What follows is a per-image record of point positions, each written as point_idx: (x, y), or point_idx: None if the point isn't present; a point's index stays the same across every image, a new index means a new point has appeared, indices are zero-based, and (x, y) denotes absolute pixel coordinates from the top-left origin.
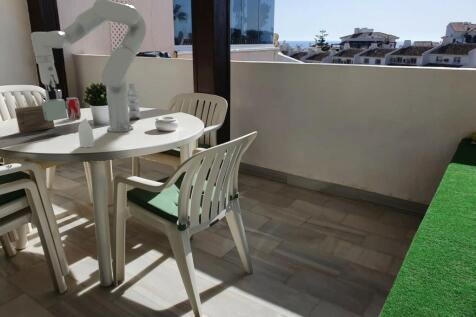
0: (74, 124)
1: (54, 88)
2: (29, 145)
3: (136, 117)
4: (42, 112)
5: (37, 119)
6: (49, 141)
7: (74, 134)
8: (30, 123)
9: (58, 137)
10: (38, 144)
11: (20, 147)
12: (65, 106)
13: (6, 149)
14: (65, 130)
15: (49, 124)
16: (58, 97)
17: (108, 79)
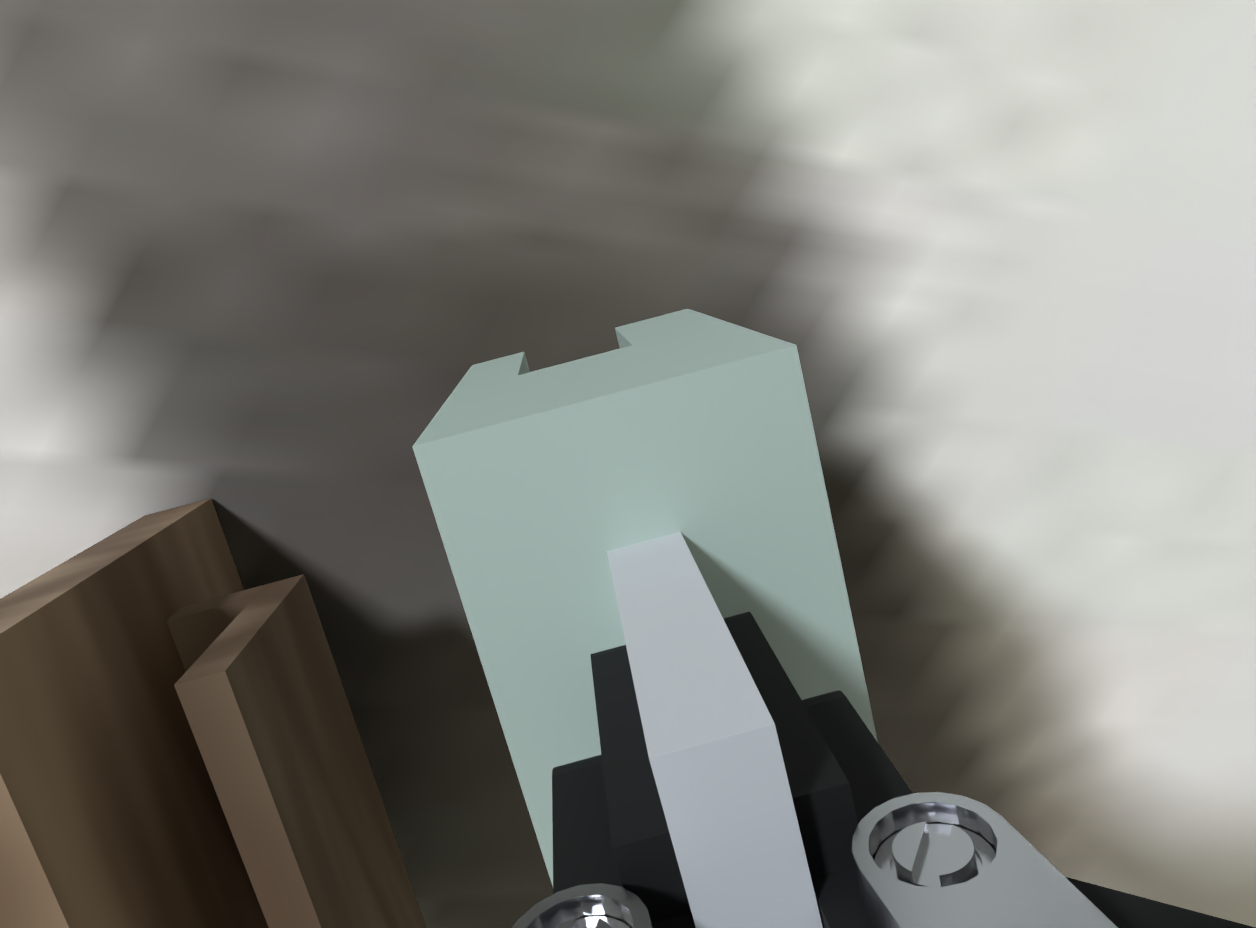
0: (79, 141)
1: (1063, 896)
2: (1169, 823)
3: None
4: (295, 801)
5: (362, 828)
6: (1121, 616)
7: (917, 268)
8: (411, 903)
9: (970, 497)
10: (1187, 735)
11: (1197, 904)
12: (741, 329)
13: None
14: (548, 358)
15: (212, 588)
16: None
17: None
